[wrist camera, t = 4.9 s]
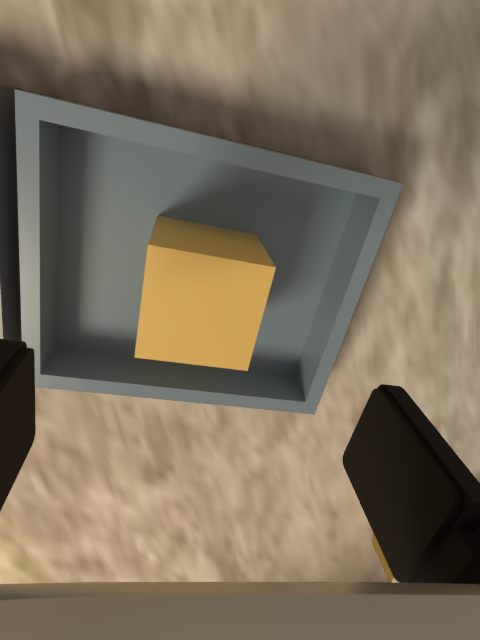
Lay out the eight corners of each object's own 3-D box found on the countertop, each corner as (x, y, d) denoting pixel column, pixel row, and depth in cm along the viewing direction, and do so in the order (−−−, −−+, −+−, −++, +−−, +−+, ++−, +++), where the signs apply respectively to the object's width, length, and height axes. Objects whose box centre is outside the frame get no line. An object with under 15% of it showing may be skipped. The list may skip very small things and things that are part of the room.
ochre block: (235, 320, 22) (247, 370, 17) (145, 307, 21) (134, 357, 16) (256, 234, 20) (275, 267, 15) (157, 215, 19) (148, 244, 14)
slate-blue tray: (300, 383, 25) (314, 414, 22) (43, 353, 22) (23, 385, 19) (374, 175, 19) (403, 183, 17) (42, 94, 16) (14, 89, 14)
